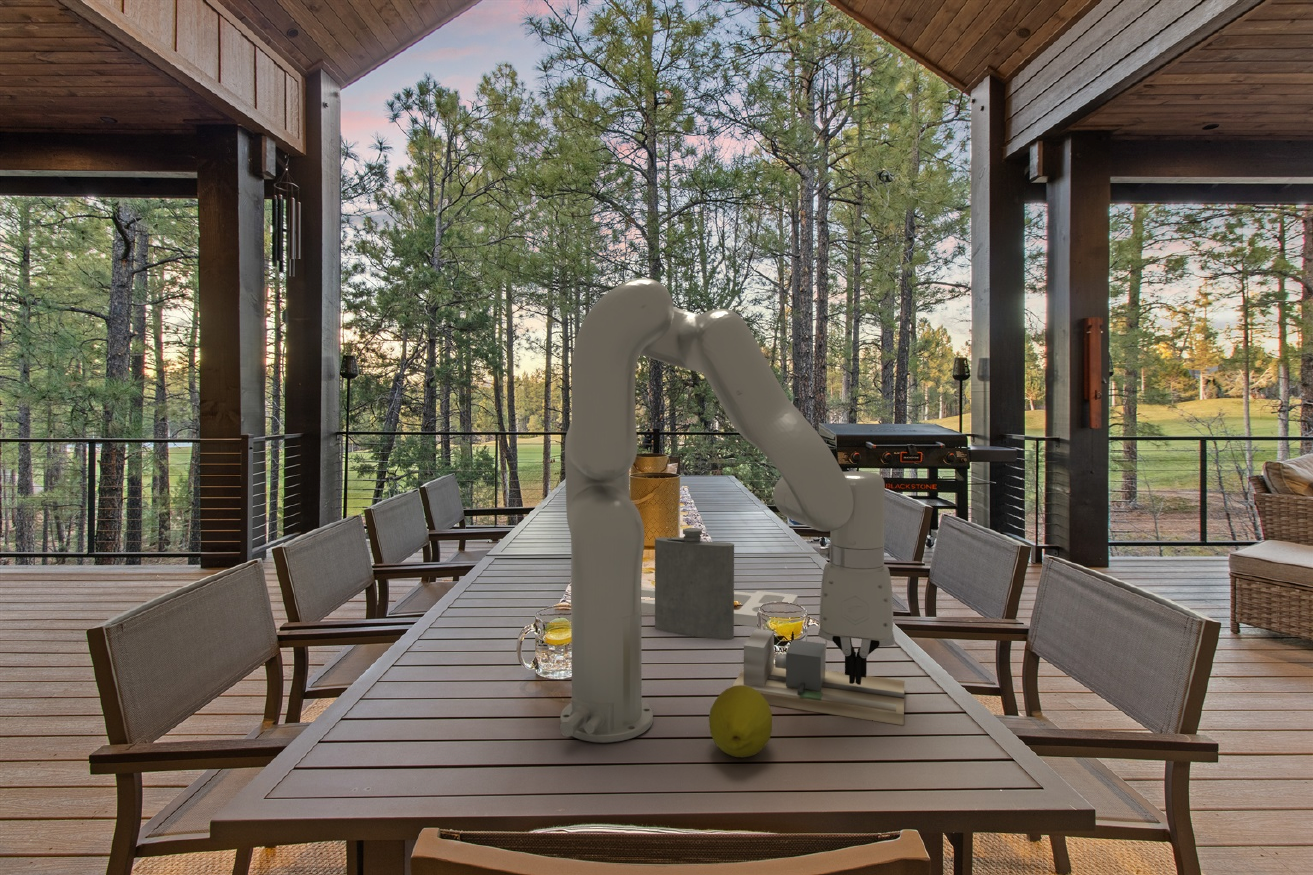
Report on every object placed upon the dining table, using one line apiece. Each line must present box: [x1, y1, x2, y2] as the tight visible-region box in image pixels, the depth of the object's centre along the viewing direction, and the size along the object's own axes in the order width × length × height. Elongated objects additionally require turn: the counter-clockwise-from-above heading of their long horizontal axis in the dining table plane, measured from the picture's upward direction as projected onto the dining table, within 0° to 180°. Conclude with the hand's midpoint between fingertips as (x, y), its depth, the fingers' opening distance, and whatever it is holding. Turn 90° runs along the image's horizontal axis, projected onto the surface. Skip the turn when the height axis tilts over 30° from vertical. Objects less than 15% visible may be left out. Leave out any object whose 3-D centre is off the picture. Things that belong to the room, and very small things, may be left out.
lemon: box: [708, 685, 773, 758], centre depth 84 cm, size 11×8×8 cm
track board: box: [731, 628, 906, 726], centre depth 101 cm, size 12×24×8 cm, turn 69°
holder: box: [641, 586, 798, 628], centre depth 148 cm, size 45×18×3 cm, turn 68°
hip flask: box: [654, 527, 735, 641], centre depth 129 cm, size 16×4×20 cm, turn 65°
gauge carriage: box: [774, 639, 827, 696], centre depth 101 cm, size 9×7×5 cm
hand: (855, 680), depth 100 cm, fingers closed
